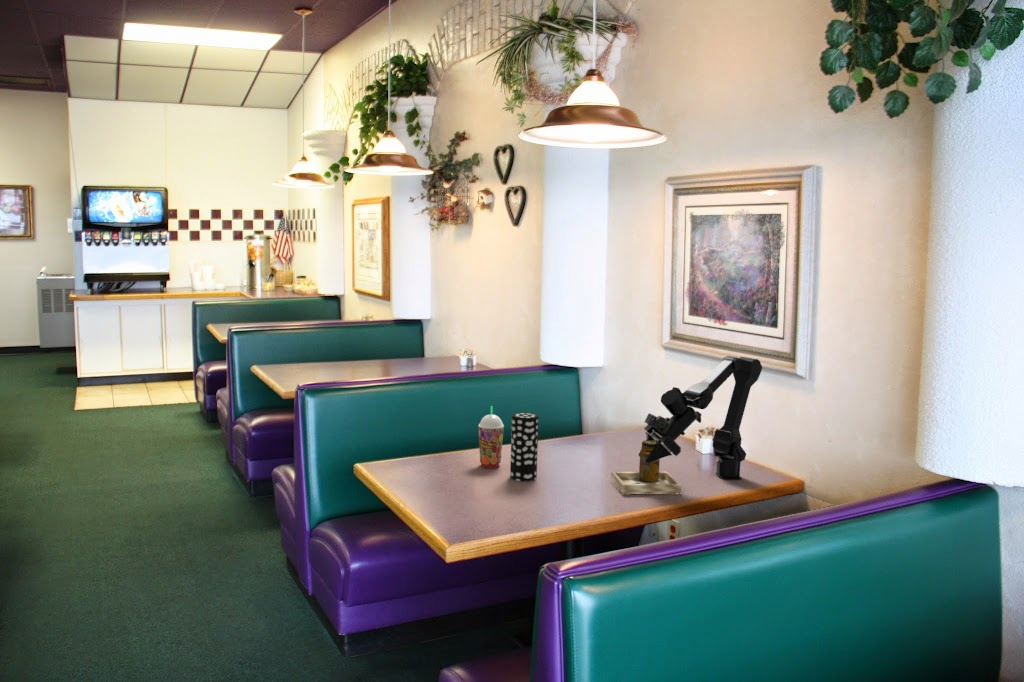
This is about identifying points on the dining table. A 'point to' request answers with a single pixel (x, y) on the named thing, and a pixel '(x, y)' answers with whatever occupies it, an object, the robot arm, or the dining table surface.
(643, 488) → the tray
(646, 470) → the condiment
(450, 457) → the dining table surface
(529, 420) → the white-spotted black cylinder
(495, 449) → the smoothie
